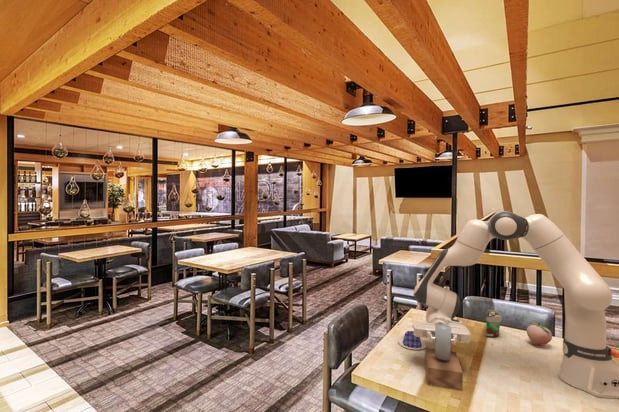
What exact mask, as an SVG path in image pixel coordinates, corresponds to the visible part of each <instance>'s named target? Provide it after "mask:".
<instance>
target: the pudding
mask: <svg viewBox="0 0 619 412" xmlns="http://www.w3.org/2000/svg"><path fill="white" fill-rule="evenodd" d="M397 342H398V345H400V346H401V347H404V348H405V349H406V348H407V349H410V350H415V351H416V350H419V351H420V350H425V348H427V344H426V342H425V341H424V340H422V339H421V337H416V336H414V330H407V331H406V332H405V333H404V336H403V337H401V338H399V339H398V341H397Z"/></svg>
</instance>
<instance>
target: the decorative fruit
mask: <svg viewBox="0 0 619 412" xmlns="http://www.w3.org/2000/svg"><path fill="white" fill-rule="evenodd" d="M529 324H530V325H529V326H527V329H526V334H527V336H528V338H529V340H530V341H532V342H533V343H535V344H536V345H537V346H543V345H547V344H549V343H550V342H551V341H552V339H553V334H552V331H551V330H550V329H549V328H547V327H546V326H543V325H540V324H541V323H540V322H538V323H537V322H530V323H529Z"/></svg>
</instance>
